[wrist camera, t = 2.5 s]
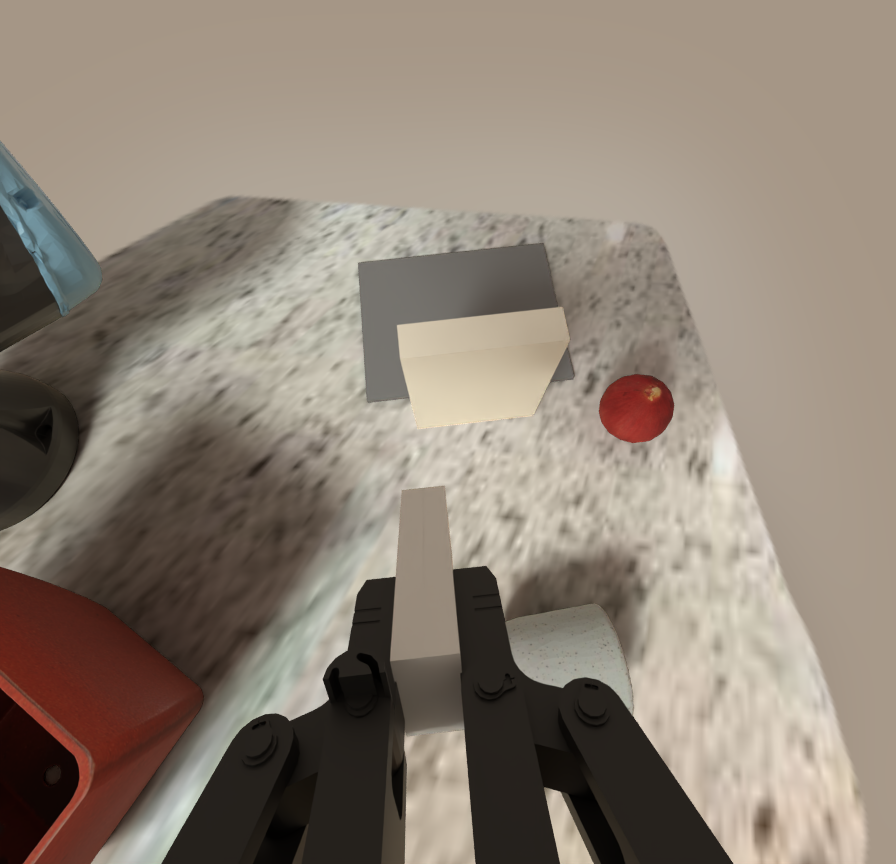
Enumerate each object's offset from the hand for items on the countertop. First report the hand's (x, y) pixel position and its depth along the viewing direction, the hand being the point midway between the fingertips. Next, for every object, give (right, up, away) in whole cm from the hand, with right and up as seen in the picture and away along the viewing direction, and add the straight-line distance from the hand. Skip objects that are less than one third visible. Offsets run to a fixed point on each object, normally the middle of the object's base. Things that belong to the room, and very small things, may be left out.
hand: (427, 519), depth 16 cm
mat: (+2, +15, +29) cm, 33 cm away
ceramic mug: (+9, -16, +19) cm, 27 cm away
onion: (+17, +4, +25) cm, 31 cm away
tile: (+3, +5, +26) cm, 27 cm away
